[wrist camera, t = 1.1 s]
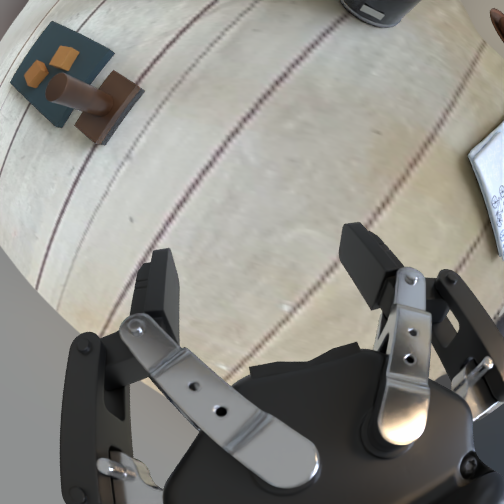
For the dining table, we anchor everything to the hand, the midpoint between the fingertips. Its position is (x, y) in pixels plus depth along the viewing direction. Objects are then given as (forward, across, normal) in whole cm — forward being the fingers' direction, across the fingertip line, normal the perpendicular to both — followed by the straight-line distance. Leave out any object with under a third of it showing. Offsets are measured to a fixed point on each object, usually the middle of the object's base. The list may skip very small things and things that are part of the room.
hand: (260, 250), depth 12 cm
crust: (+28, +25, -15) cm, 41 cm away
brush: (+24, +13, -6) cm, 28 cm away
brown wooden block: (+28, +20, -15) cm, 37 cm away
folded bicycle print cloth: (+11, -45, +2) cm, 46 cm away
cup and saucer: (+22, -56, -28) cm, 66 cm away
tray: (+30, +23, -15) cm, 41 cm away
